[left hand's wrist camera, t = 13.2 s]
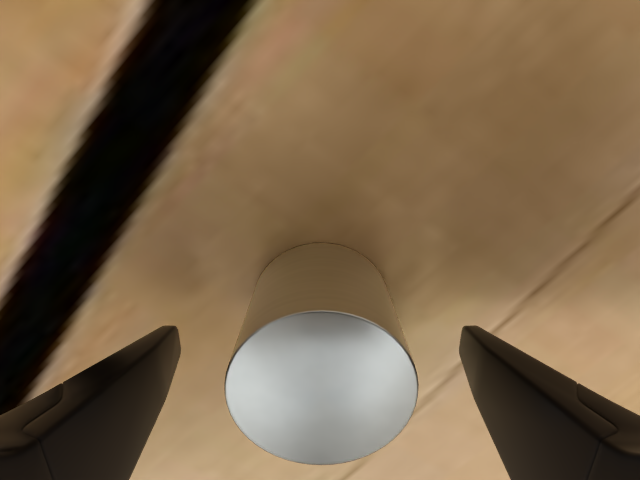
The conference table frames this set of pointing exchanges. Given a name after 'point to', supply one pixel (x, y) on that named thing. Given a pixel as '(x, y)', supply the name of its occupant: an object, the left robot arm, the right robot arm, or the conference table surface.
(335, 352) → the can
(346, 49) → the conference table surface
